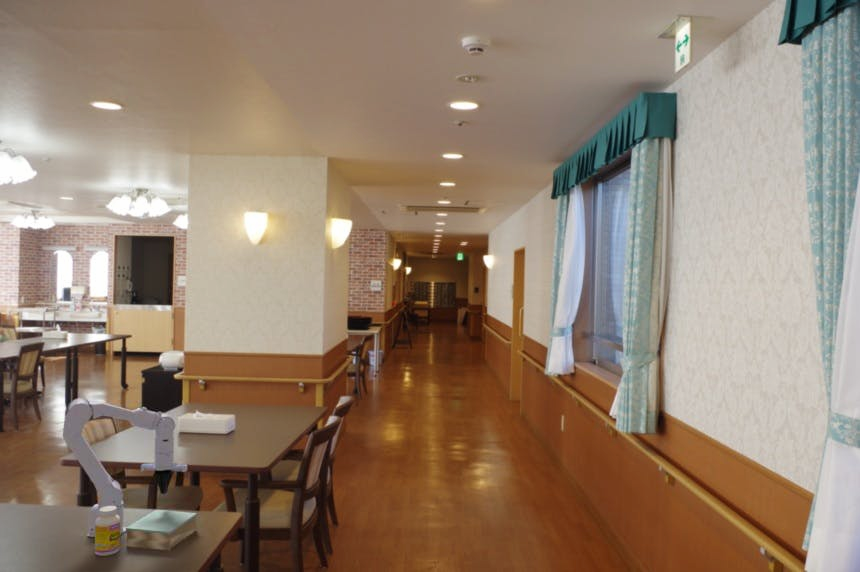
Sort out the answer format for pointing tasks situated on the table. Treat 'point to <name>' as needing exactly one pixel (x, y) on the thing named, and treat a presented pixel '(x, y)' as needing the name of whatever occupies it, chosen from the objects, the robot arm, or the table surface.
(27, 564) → the table surface
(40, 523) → the table surface
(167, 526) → the lid
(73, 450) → the robot arm
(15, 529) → the table surface
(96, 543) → the supplement bottle
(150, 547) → the box
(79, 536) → the table surface
